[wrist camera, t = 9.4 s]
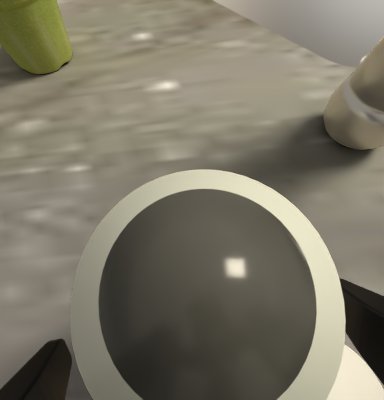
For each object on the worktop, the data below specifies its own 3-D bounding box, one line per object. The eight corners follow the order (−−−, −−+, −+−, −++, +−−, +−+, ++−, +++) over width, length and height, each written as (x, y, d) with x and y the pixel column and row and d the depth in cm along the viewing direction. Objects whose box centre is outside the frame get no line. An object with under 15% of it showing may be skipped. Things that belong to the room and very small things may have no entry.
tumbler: (180, 360, 14) (145, 573, 3) (145, 285, 16) (35, 238, 5) (246, 313, 15) (407, 337, 4) (206, 248, 17) (238, 137, 6)
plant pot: (84, 27, 30) (45, -74, 22) (92, 76, 26) (48, -25, 18) (6, 40, 28) (-65, -62, 21) (3, 93, 25) (-86, -7, 17)
